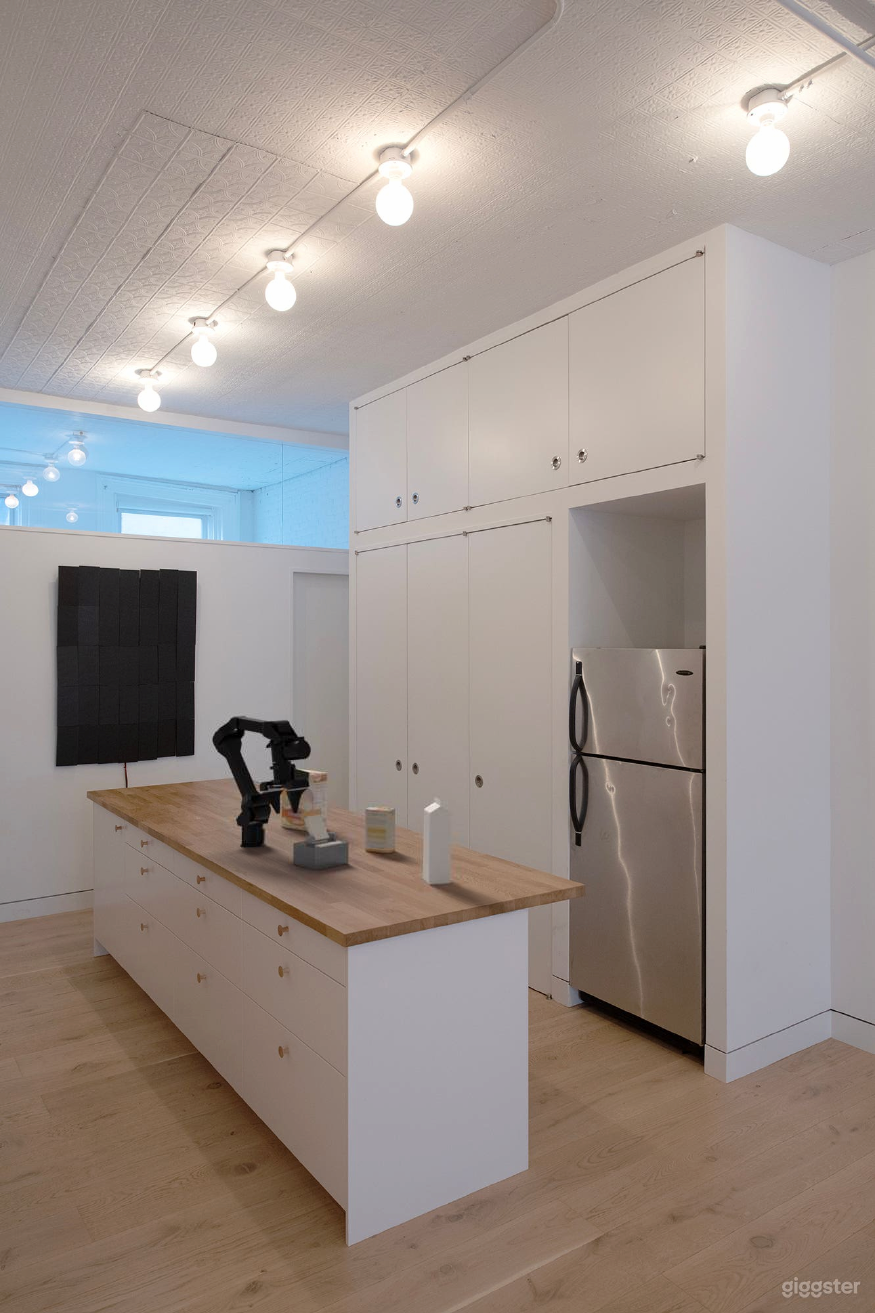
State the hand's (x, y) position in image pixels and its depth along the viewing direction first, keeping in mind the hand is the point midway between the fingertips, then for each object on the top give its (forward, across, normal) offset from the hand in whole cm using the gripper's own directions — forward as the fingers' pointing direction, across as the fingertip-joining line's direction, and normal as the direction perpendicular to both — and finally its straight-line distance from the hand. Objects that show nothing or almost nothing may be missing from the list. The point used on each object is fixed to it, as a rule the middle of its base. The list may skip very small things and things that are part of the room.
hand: (286, 813), depth 266 cm
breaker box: (+14, -16, +1) cm, 22 cm away
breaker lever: (+8, -18, +1) cm, 19 cm away
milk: (+20, -51, -11) cm, 56 cm away
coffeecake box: (+8, +28, -25) cm, 38 cm away
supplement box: (+15, -15, -22) cm, 31 cm away
